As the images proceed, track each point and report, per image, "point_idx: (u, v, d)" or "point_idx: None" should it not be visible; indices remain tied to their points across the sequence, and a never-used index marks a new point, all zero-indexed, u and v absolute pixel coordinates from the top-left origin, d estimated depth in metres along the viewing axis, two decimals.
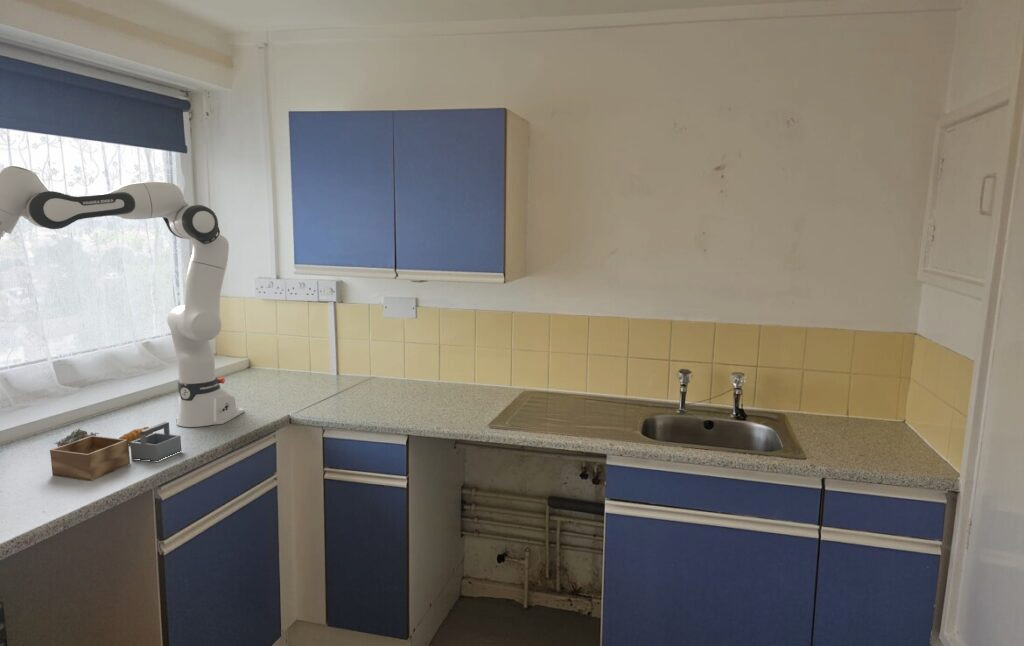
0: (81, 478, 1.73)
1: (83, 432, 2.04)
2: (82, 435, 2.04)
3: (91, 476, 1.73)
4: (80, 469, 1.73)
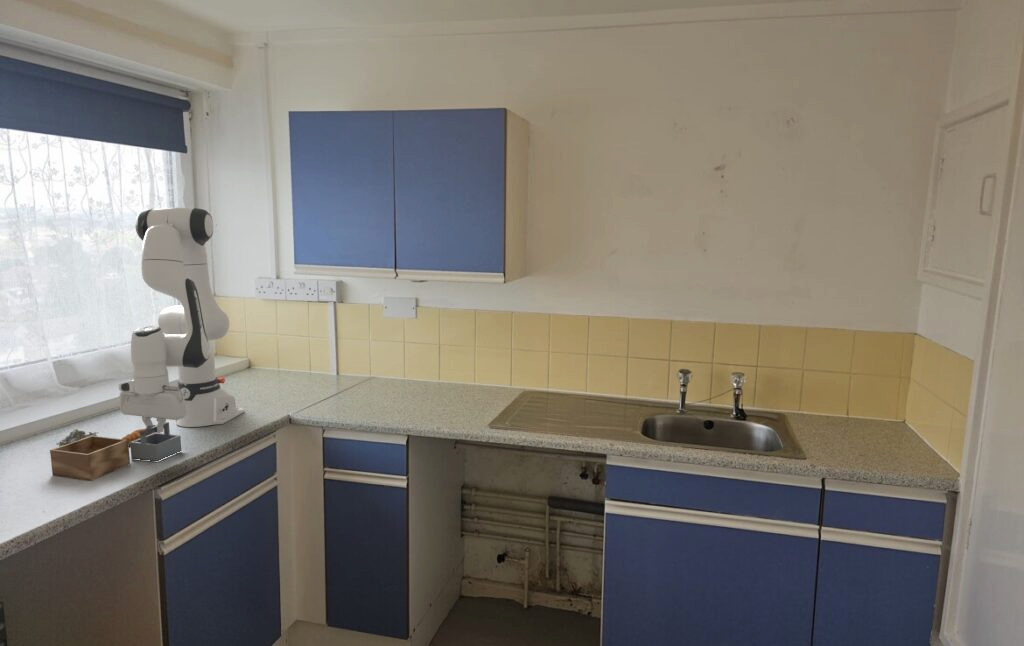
0: (81, 478, 1.73)
1: (81, 432, 2.04)
2: (80, 435, 2.04)
3: (91, 476, 1.73)
4: (80, 469, 1.73)
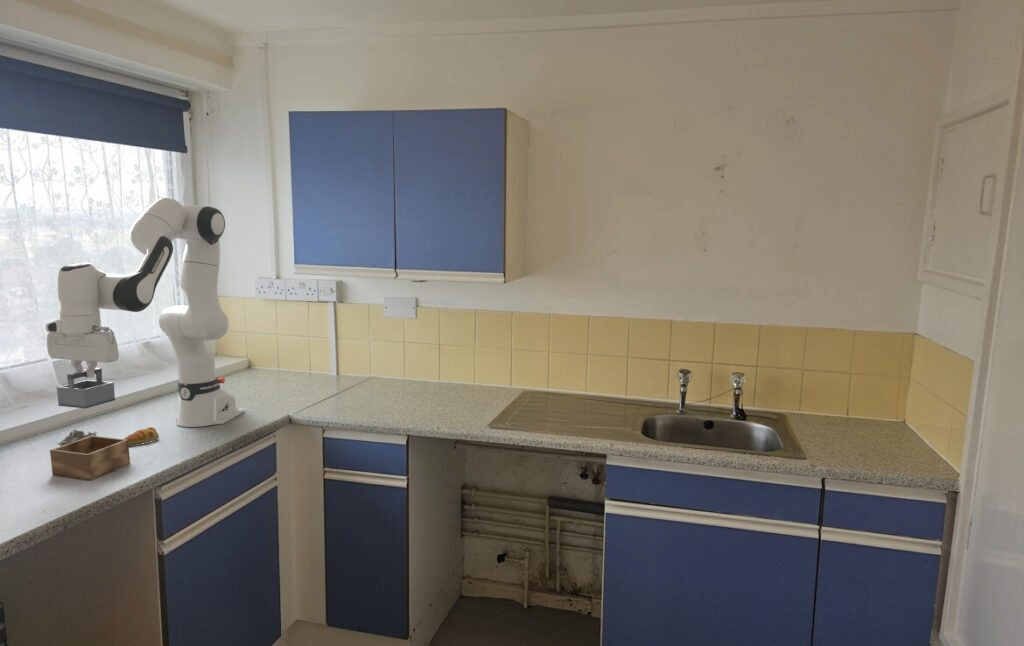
0: (81, 478, 1.73)
1: (80, 432, 2.04)
2: (79, 435, 2.04)
3: (91, 476, 1.73)
4: (80, 469, 1.73)
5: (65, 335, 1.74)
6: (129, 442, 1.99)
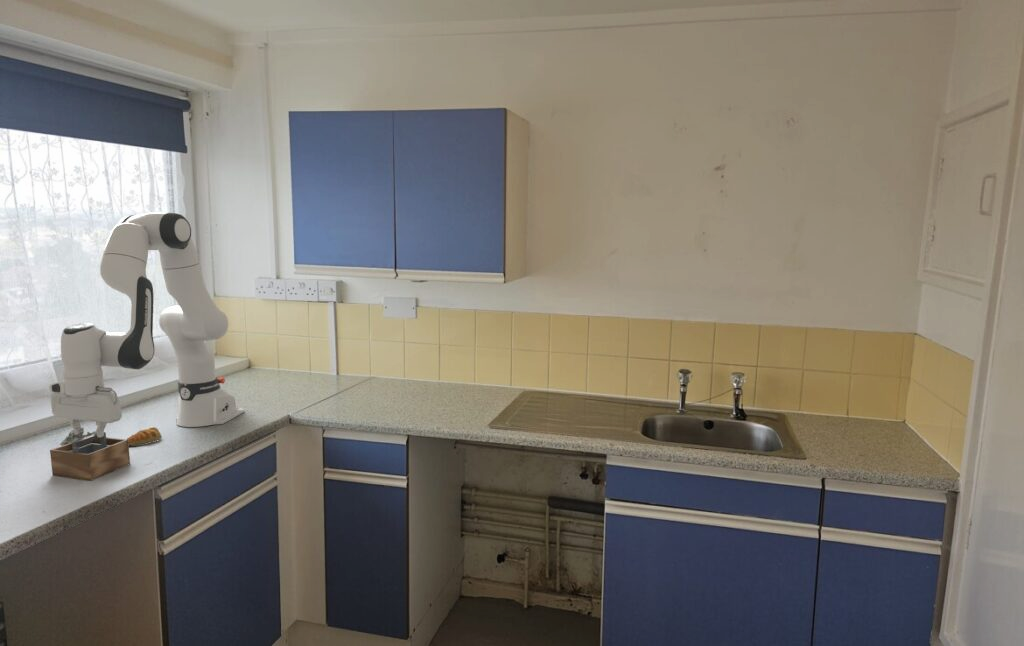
0: (81, 478, 1.73)
1: None
2: (77, 436, 2.04)
3: (91, 476, 1.73)
4: (80, 469, 1.73)
5: (69, 395, 1.76)
6: (132, 442, 1.99)
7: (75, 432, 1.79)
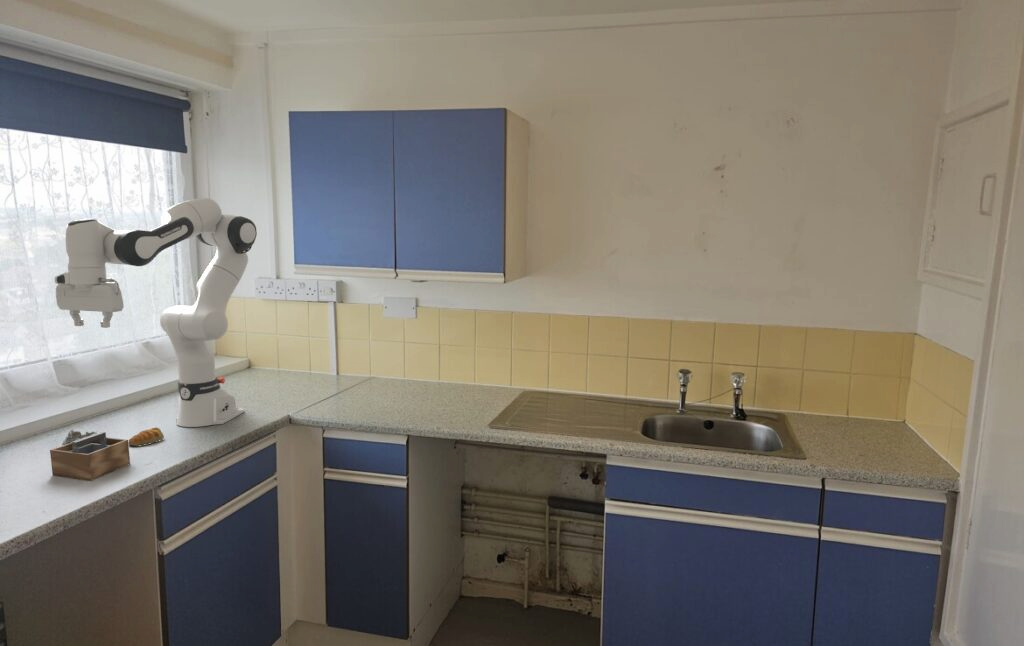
0: (81, 478, 1.73)
1: (77, 433, 2.03)
2: (75, 436, 2.03)
3: (91, 476, 1.73)
4: (80, 469, 1.73)
5: (73, 287, 1.85)
6: (135, 443, 1.99)
7: (75, 323, 1.88)
